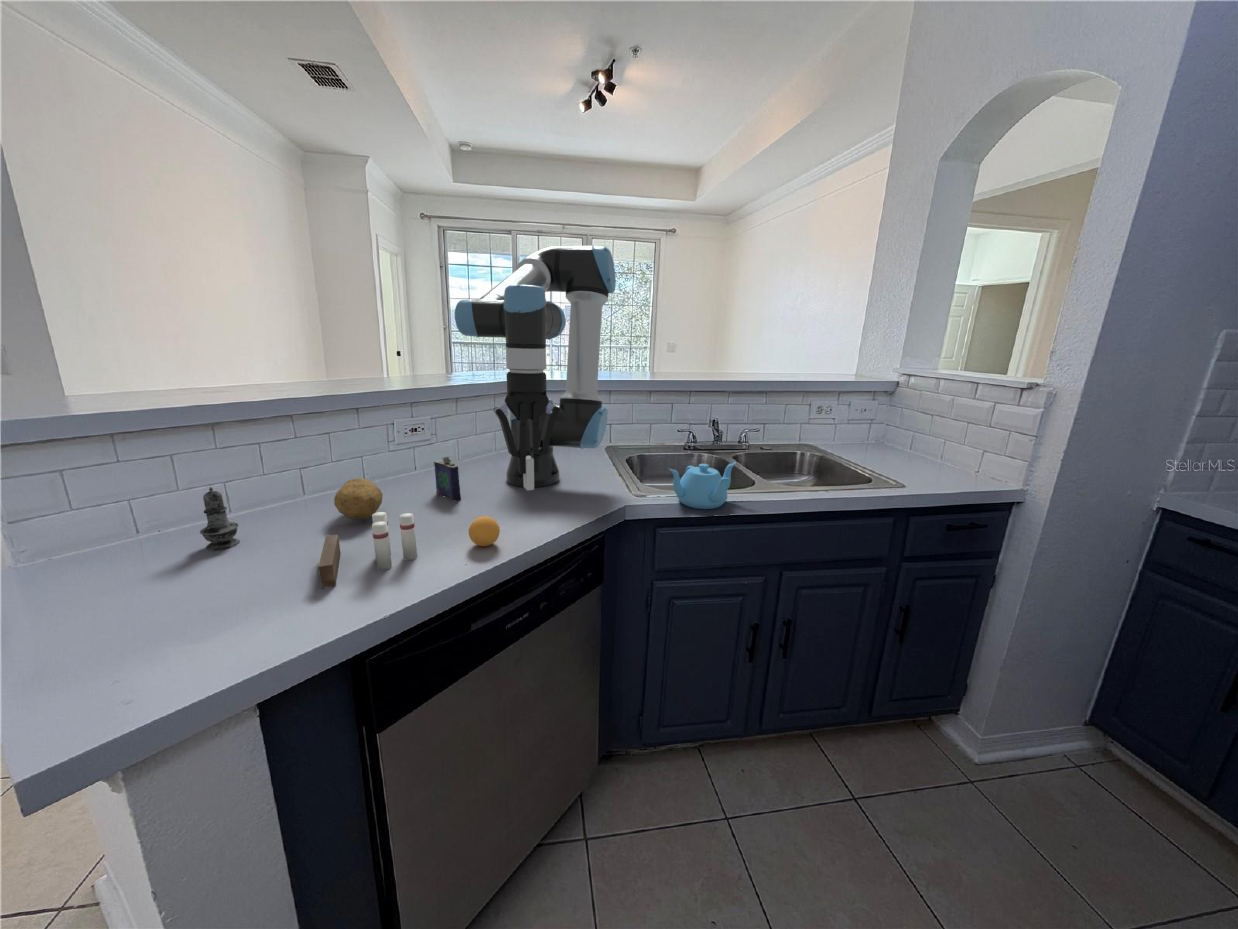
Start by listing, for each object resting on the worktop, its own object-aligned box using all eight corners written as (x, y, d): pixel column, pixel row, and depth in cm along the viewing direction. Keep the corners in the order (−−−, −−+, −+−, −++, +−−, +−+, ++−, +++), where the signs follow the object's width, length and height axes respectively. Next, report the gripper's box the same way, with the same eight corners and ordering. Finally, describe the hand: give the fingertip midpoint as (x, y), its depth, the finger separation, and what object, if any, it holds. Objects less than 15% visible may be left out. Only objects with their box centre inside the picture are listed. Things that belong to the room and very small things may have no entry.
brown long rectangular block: (340, 553, 93) (337, 534, 91) (335, 586, 81) (332, 564, 80) (328, 555, 92) (325, 536, 91) (321, 588, 81) (318, 566, 79)
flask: (434, 493, 127) (431, 454, 124) (444, 491, 129) (441, 452, 126) (454, 502, 121) (451, 461, 118) (464, 499, 123) (462, 458, 120)
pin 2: (391, 563, 90) (387, 520, 87) (392, 569, 87) (387, 525, 85) (376, 565, 89) (371, 522, 86) (376, 571, 86) (371, 527, 84)
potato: (335, 531, 102) (329, 496, 100) (338, 509, 114) (333, 477, 112) (385, 524, 106) (381, 490, 104) (383, 503, 118) (380, 472, 116)
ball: (496, 536, 102) (495, 510, 100) (503, 548, 97) (502, 520, 95) (467, 541, 99) (465, 514, 98) (472, 553, 94) (470, 525, 92)
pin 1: (391, 551, 94) (386, 511, 92) (391, 557, 92) (386, 515, 89) (376, 554, 93) (371, 512, 91) (376, 559, 91) (371, 517, 88)
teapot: (681, 490, 135) (684, 454, 132) (736, 498, 129) (739, 461, 127) (666, 507, 122) (668, 468, 119) (725, 516, 116) (729, 476, 113)
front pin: (417, 553, 94) (413, 512, 91) (417, 558, 91) (413, 517, 89) (402, 555, 93) (398, 514, 90) (403, 561, 90) (399, 519, 88)
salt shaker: (239, 536, 99) (227, 480, 96) (244, 545, 95) (232, 487, 92) (202, 544, 95) (188, 486, 92) (205, 554, 91) (191, 494, 88)
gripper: (552, 369, 98) (553, 479, 105) (488, 369, 93) (492, 486, 99) (565, 372, 92) (565, 490, 98) (496, 372, 86) (500, 497, 93)
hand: (528, 488), depth 99 cm, fingers closed
